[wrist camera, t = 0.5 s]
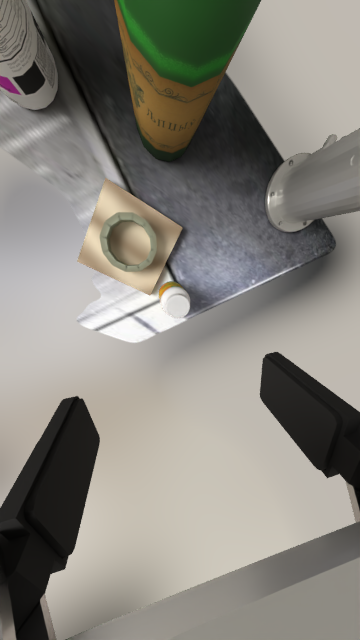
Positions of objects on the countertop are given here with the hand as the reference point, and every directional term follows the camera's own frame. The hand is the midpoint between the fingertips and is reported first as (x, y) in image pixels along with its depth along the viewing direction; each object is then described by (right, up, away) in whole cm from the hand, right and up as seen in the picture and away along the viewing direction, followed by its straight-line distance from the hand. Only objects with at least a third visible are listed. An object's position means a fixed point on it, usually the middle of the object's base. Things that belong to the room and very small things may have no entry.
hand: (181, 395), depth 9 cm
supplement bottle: (-2, +10, +28) cm, 30 cm away
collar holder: (-9, +18, +23) cm, 31 cm away
